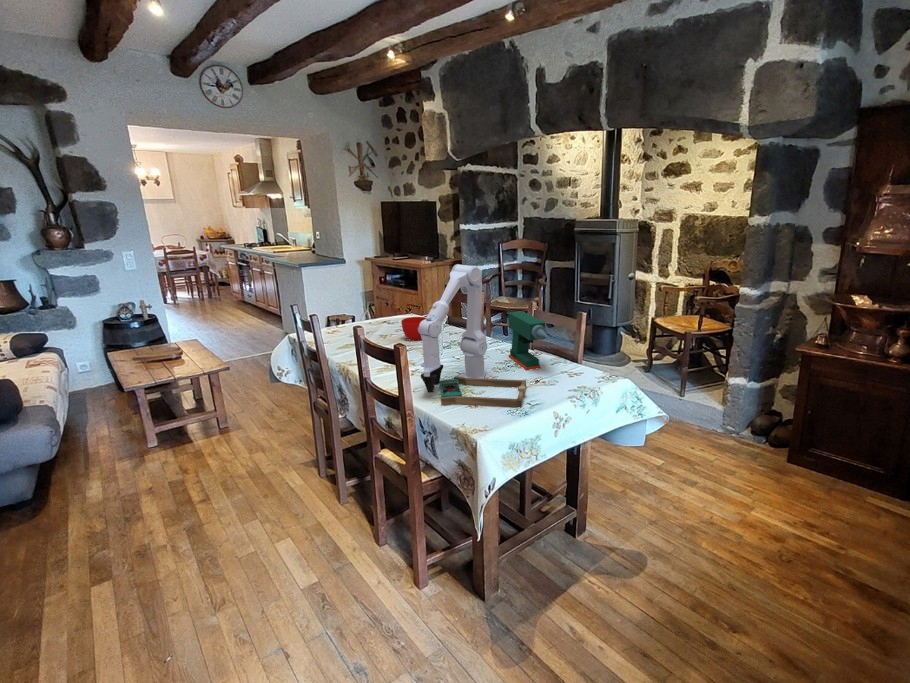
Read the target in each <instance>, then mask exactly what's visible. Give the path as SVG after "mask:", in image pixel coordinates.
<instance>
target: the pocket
mask: <svg viewBox="0 0 910 683" xmlns="http://www.w3.org/2000/svg"><path fill="white" fill-rule="evenodd" d="M453 379H457V380H458V381H459V385H460V384H462V385H461V386H466V385H473V386H472V387H488V386H494V387H495V388H512V387H518V388H517V392H518V394H517V398H507V397H506V398H505V397H488V396H487V397H483V396H465V395H464V396H463V395H462V396H456V397H455V396H450V397H440V405H441V406H442V405H444V406H451V404H454V405H458V404H460V405H461V406H462V405H463V406H478V405H480V407H497V406H498V407H500V408H501V407H502V408H516V407H520V408H522V405H523V402H524V398H525V393H526V389H527V380H526V379H503V378H502V379H500V378H499V379H497V378H484V379H480V378H464V376H458V375H454V376H453ZM523 397H524V398H523ZM460 405H459V406H460ZM520 408H519V409H520Z"/></svg>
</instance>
